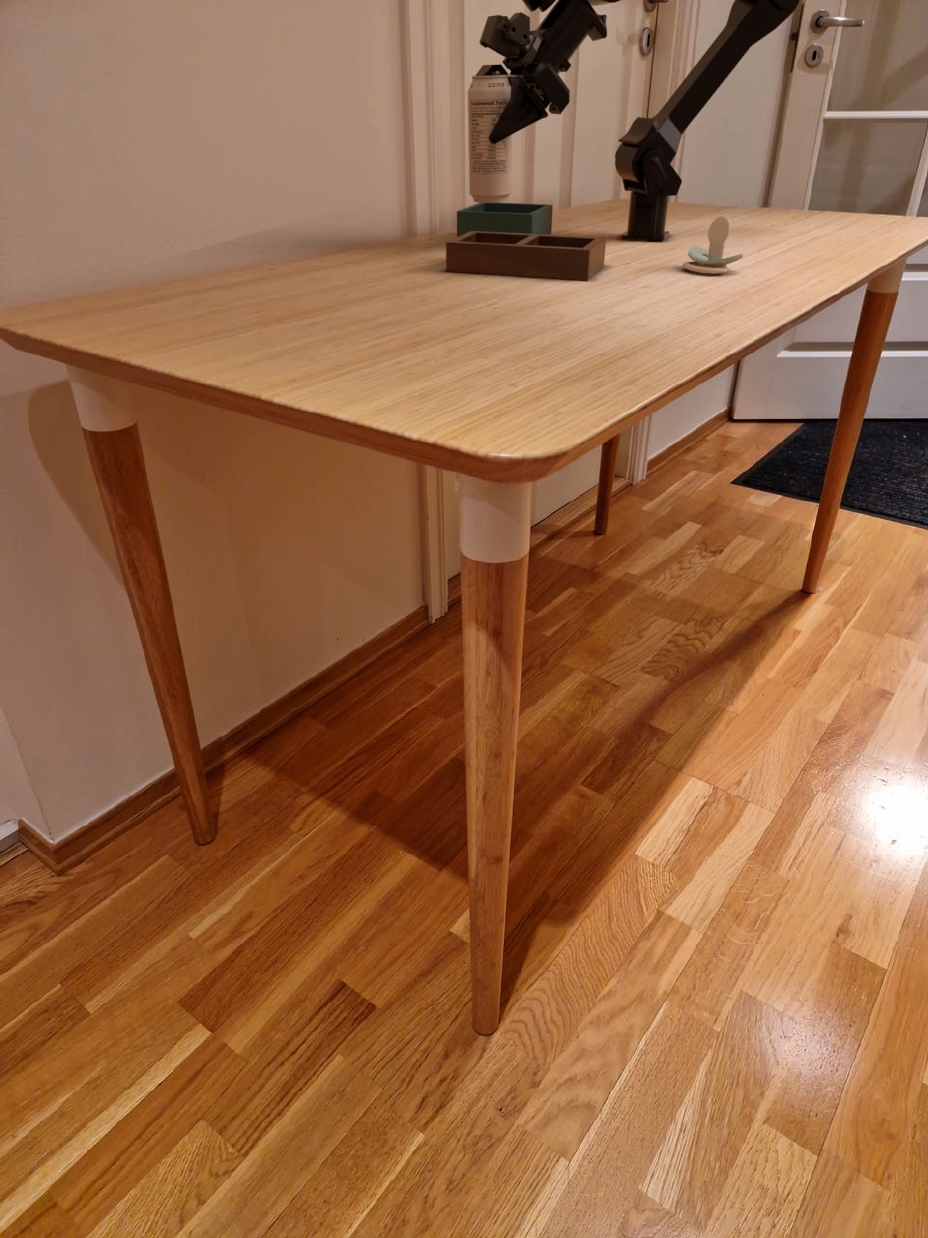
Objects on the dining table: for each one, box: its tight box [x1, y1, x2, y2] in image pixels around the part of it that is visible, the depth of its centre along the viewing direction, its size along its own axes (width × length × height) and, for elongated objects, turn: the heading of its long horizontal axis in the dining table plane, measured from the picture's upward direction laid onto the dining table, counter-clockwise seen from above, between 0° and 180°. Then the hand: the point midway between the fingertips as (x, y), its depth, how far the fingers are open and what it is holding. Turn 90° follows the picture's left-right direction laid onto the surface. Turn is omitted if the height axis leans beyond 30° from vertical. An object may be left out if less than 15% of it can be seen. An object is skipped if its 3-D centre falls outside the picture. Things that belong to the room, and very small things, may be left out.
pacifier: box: [681, 216, 744, 274], centre depth 106 cm, size 7×6×6 cm
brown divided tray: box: [445, 231, 607, 282], centre depth 108 cm, size 10×19×4 cm, turn 70°
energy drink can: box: [467, 75, 513, 204], centre depth 115 cm, size 6×6×15 cm
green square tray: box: [456, 202, 554, 238], centre depth 127 cm, size 12×12×4 cm
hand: (481, 140), depth 115 cm, fingers closed on energy drink can, 6 cm apart
